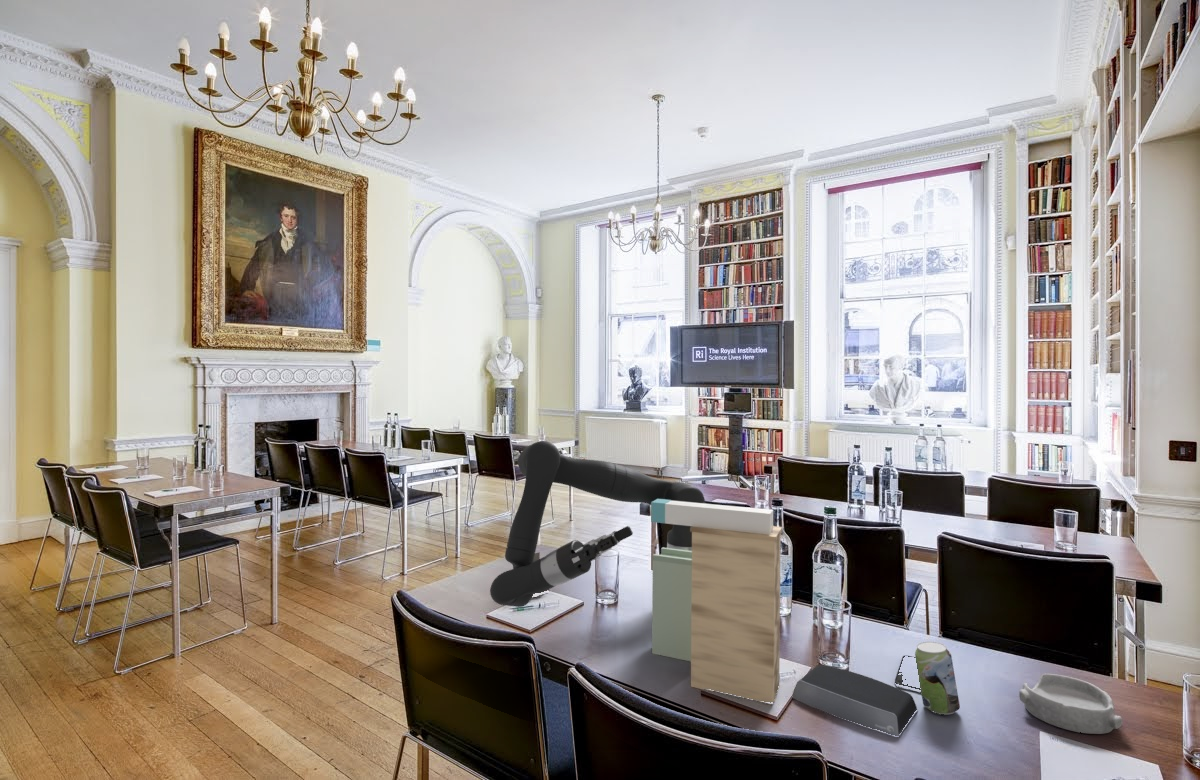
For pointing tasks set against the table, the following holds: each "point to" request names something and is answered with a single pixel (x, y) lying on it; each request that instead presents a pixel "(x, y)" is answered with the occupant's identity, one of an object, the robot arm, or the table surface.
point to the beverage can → (937, 678)
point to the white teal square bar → (712, 516)
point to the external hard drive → (856, 698)
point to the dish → (1071, 704)
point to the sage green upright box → (672, 603)
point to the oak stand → (736, 612)
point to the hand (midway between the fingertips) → (623, 534)
